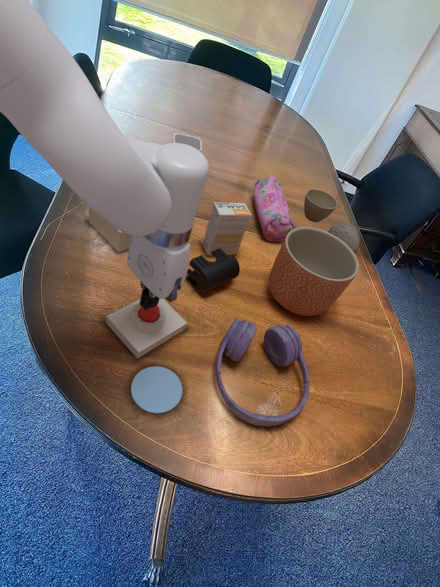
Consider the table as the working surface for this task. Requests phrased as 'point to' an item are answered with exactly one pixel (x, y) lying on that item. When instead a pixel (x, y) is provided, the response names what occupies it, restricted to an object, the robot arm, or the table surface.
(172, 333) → the button block
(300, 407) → the headphones
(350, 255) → the planter
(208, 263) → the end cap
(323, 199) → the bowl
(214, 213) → the supplement box
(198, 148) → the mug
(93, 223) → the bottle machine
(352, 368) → the table surface
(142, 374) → the coaster
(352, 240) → the decorative stone
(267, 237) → the pencil case
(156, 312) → the release button
